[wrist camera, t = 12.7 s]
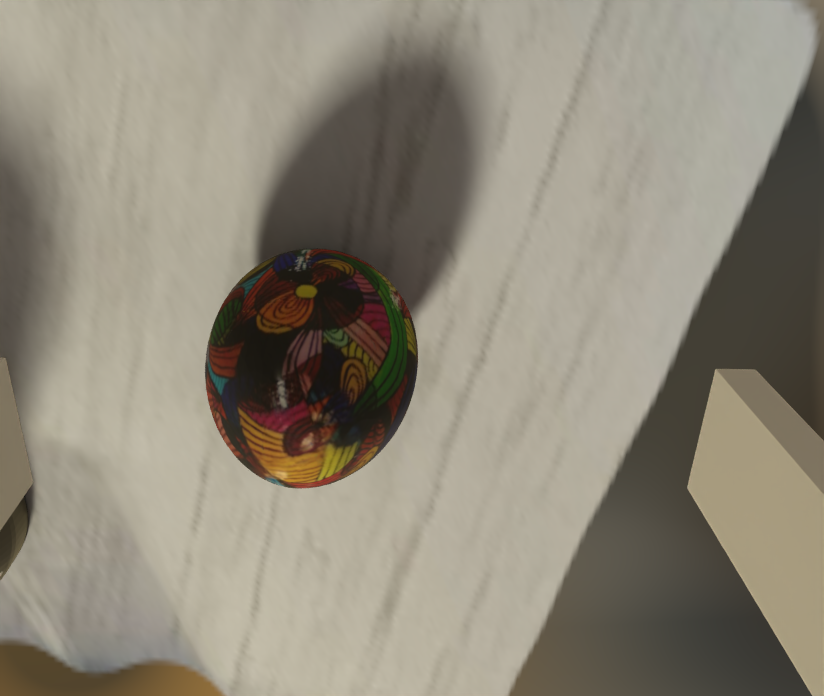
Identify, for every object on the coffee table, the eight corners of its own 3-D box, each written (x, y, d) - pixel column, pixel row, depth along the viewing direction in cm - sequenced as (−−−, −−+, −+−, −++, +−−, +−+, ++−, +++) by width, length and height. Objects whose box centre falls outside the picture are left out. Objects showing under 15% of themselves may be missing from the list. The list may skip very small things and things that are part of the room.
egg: (447, 280, 44) (477, 414, 30) (358, 418, 48) (349, 591, 34) (281, 188, 41) (233, 291, 28) (201, 342, 45) (124, 497, 31)
